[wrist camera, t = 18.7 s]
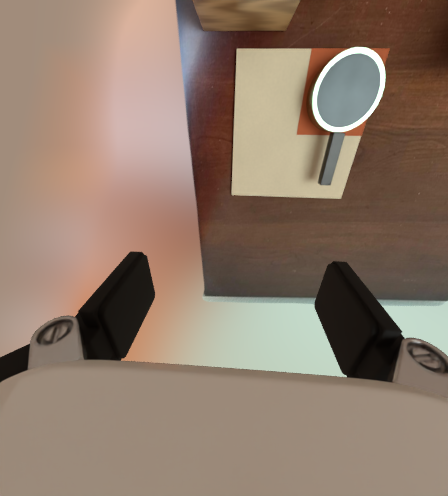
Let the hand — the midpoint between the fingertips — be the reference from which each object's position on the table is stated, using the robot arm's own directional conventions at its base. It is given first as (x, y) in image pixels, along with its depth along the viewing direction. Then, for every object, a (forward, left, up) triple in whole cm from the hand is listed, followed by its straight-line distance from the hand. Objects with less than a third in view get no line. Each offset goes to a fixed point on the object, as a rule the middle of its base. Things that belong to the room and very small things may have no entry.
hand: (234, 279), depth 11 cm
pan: (+16, +7, -33) cm, 37 cm away
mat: (+10, +6, -33) cm, 35 cm away
